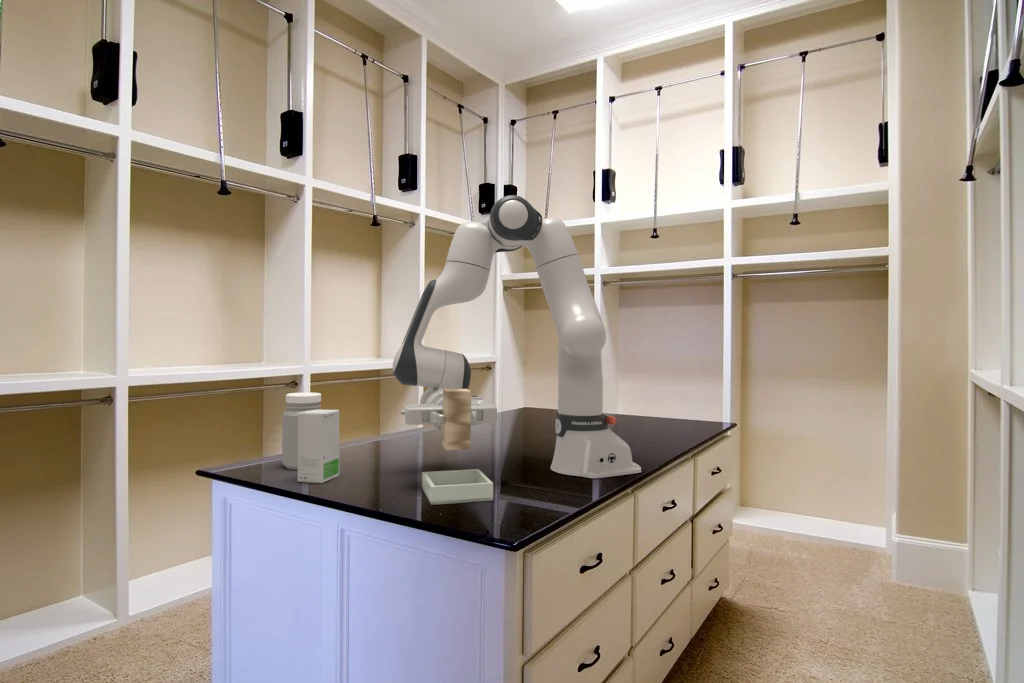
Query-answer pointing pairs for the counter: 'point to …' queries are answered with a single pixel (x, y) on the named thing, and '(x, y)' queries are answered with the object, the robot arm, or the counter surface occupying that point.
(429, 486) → the dish
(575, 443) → the robot arm
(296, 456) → the jar
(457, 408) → the oak block
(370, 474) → the counter surface
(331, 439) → the skincare box
